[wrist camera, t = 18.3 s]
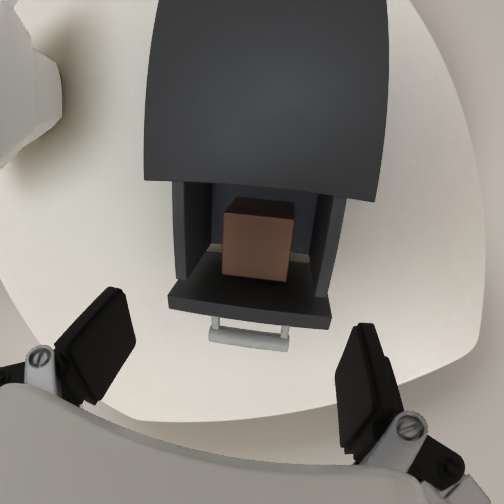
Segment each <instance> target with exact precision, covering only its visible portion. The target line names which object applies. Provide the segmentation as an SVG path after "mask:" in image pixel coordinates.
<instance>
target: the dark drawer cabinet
mask: <svg viewBox="0 0 504 504" xmlns="http://www.w3.org/2000/svg"><path fill="white" fill-rule="evenodd" d="M388 80H389V35H388V15H387V3H386V0H159V2H158V7H157V12H156V18H155V23H154V29H153V35H152V42H151V49H150V57H149V66H148V76H147V87H146V101H145V119H144V180H146V181H179V182H199V183H215V184H229V185H242V186H253V187H264V188H274V189H283V190H292V191H300V192H308V193H316V194H323V195H330V196H337V197H344V198H350V199H356V200H362V201H368V202H375V198H376V192H377V186H378V180H379V174H380V167H381V160H382V153H383V145H384V136H385V126H386V115H387V101H388Z"/></svg>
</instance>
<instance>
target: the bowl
mask: <svg viewBox="0 0 504 504" xmlns="http://www.w3.org/2000/svg"><path fill="white" fill-rule="evenodd" d="M61 117H62V86H61V80H60V73H59V70H58V67H57V64H56V63H55V62H54V61H52V60H51V59H49V58H48V57H46V56H45V55H43V54H41V53H40V52H38V51H37V50H35V49H34V48H33V46H32V41H31V35H30V34H29V32H28V31H27V29H26V28H25V26H24V25H23V23H22V22H21V20H20V18H19V17H18V15H17V14H16V12H15V11H14V9H13V7H12V6H11V4H10V3H9V1H8V0H0V170H1V169H2V168H3V167H4V166H5V165H6V164H7V163H8V162H9V161H10V160H11V159H12V158H13V157H14V156H15V155H16V154H17V153H18V152H19V151H20V150H21V149H22V148H23V147H24V146H26V145H28V144H29V143H31V142H33V141H35V140H36V139H37V138H39V137H40V136H41V135H43V134H44V133H45V132H47V131H48V130H49V129H51V128H52V127H53V126H54V125H55V124H56V123H57V122H58V121H59V120H60V118H61Z"/></svg>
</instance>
